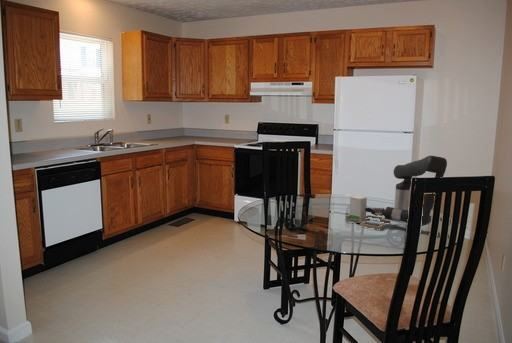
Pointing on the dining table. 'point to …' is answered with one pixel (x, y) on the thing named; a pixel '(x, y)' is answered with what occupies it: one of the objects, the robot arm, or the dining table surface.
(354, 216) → the skincare box
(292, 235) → the dining table surface
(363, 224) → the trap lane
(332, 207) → the dining table surface
